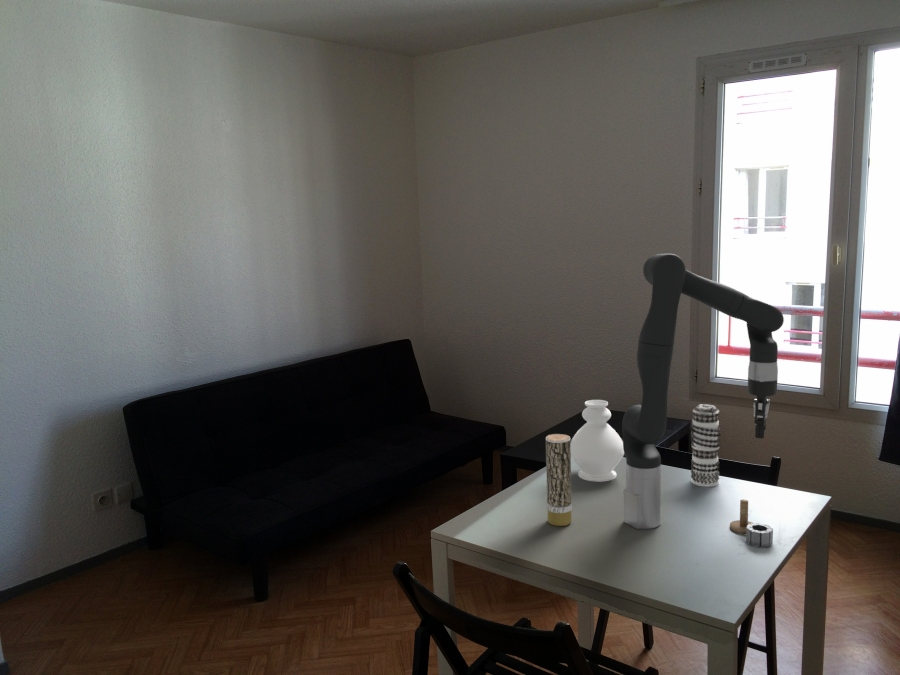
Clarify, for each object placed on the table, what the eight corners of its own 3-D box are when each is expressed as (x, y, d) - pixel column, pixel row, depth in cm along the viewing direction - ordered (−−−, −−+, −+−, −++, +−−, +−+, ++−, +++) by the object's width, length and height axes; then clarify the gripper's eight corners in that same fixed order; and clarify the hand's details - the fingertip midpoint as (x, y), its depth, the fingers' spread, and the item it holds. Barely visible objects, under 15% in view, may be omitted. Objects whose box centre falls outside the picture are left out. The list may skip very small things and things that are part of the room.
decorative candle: (683, 479, 236) (684, 404, 232) (708, 475, 239) (708, 401, 235) (701, 488, 228) (702, 411, 224) (726, 484, 230) (727, 407, 226)
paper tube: (555, 515, 212) (553, 432, 208) (576, 520, 208) (574, 436, 204) (543, 523, 207) (540, 438, 203) (564, 529, 202) (562, 442, 199)
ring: (767, 549, 185) (768, 534, 184) (743, 543, 189) (743, 529, 188) (774, 541, 189) (775, 526, 189) (751, 535, 193) (751, 521, 193)
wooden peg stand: (744, 536, 193) (744, 507, 192) (724, 527, 199) (724, 499, 198) (763, 530, 196) (764, 502, 194) (743, 521, 202) (743, 494, 201)
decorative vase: (581, 463, 256) (580, 394, 252) (631, 470, 247) (631, 398, 243) (562, 479, 241) (560, 406, 237) (614, 487, 232) (613, 411, 228)
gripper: (749, 371, 209) (747, 426, 212) (746, 381, 196) (744, 439, 199) (778, 373, 206) (776, 428, 208) (776, 383, 193) (774, 442, 196)
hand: (760, 433), depth 204 cm, fingers open, 8 cm apart
